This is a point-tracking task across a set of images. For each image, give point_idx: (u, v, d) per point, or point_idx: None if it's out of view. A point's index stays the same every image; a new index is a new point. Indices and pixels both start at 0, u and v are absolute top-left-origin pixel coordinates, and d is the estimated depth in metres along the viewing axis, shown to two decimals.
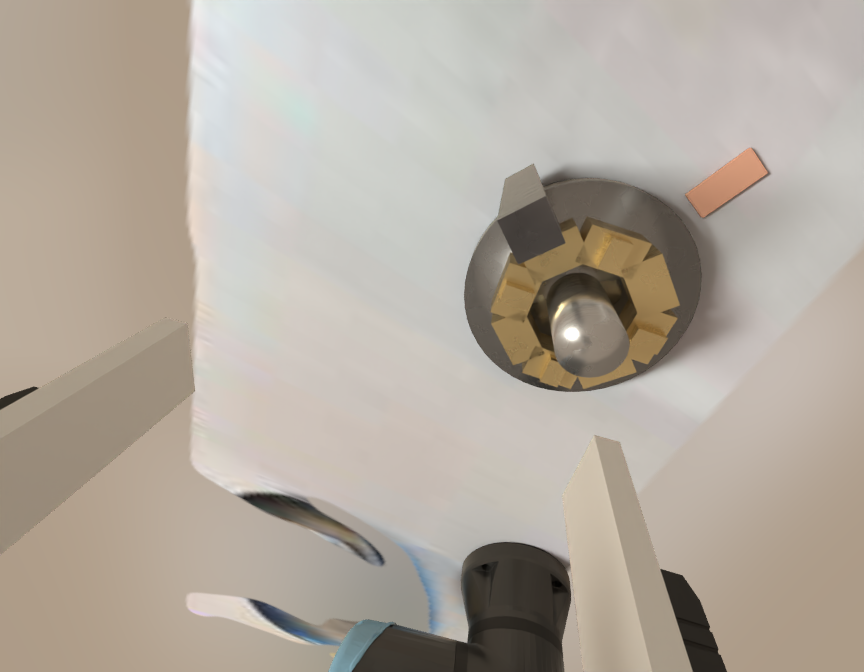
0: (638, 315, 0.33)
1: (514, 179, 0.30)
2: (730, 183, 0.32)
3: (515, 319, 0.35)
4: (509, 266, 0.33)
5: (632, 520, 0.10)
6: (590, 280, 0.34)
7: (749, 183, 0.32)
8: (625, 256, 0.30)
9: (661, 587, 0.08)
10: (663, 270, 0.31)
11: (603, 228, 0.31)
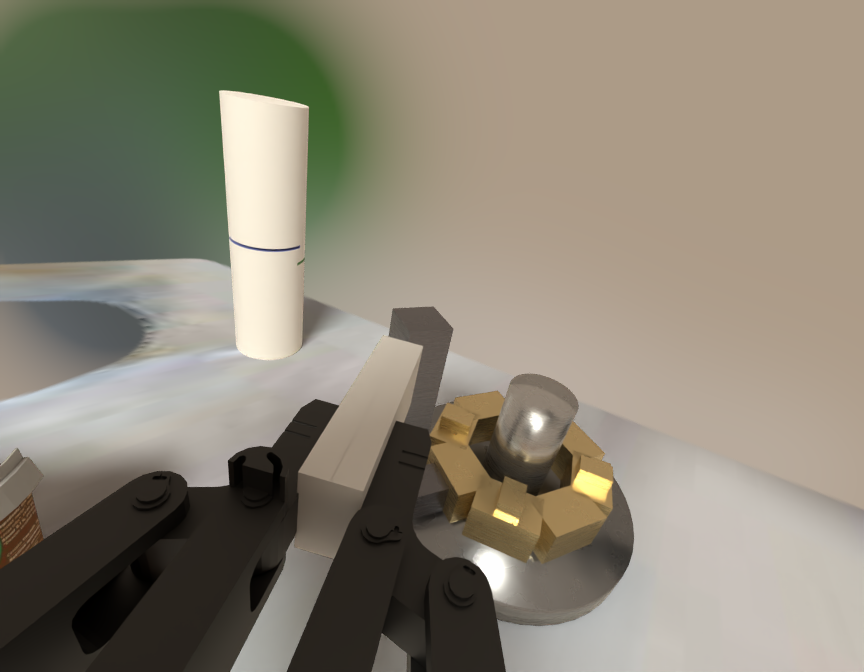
0: None
1: None
2: None
3: (543, 508, 0.28)
4: (476, 507, 0.27)
5: (394, 389, 0.12)
6: (485, 454, 0.34)
7: None
8: (458, 409, 0.34)
9: (387, 424, 0.11)
10: (469, 397, 0.37)
11: (433, 429, 0.33)
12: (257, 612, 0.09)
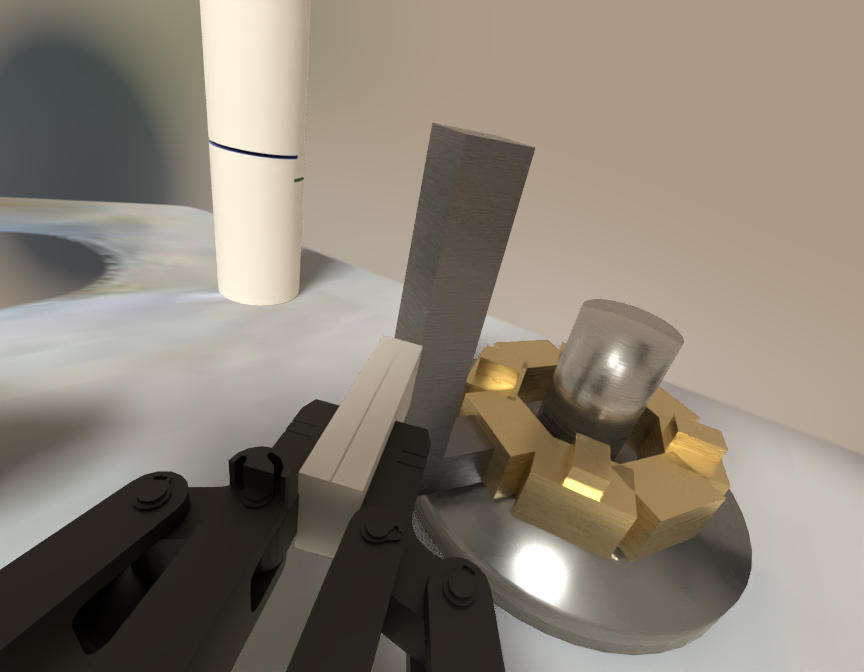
0: None
1: None
2: None
3: (633, 480, 0.19)
4: (537, 473, 0.18)
5: (393, 389, 0.12)
6: (537, 413, 0.25)
7: None
8: (501, 351, 0.25)
9: (386, 424, 0.11)
10: (512, 344, 0.28)
11: (469, 375, 0.24)
12: (258, 612, 0.09)
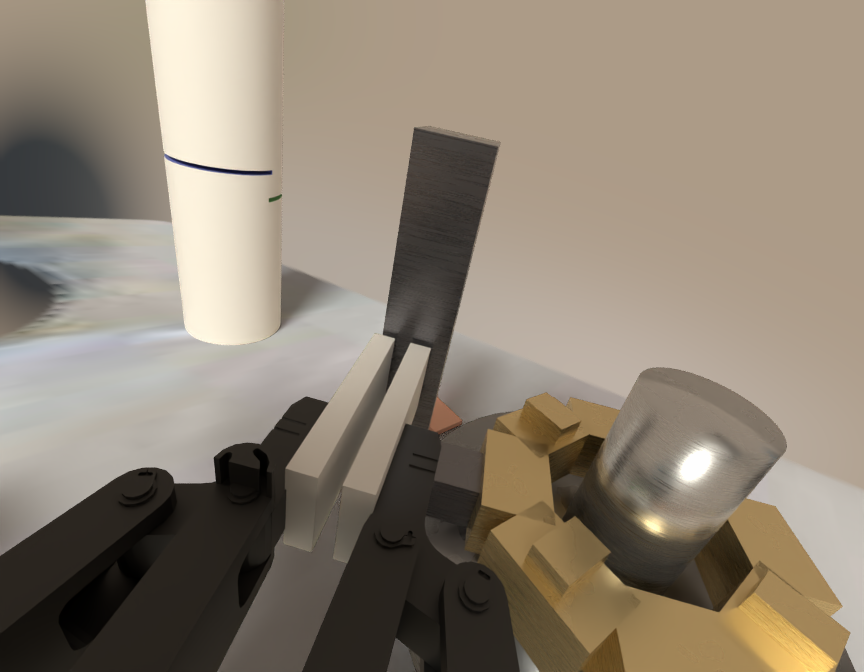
0: None
1: None
2: None
3: (628, 613, 0.14)
4: (497, 535, 0.15)
5: (403, 391, 0.12)
6: (570, 507, 0.19)
7: None
8: (558, 403, 0.22)
9: (397, 427, 0.11)
10: (593, 406, 0.24)
11: (509, 415, 0.22)
12: (246, 608, 0.09)
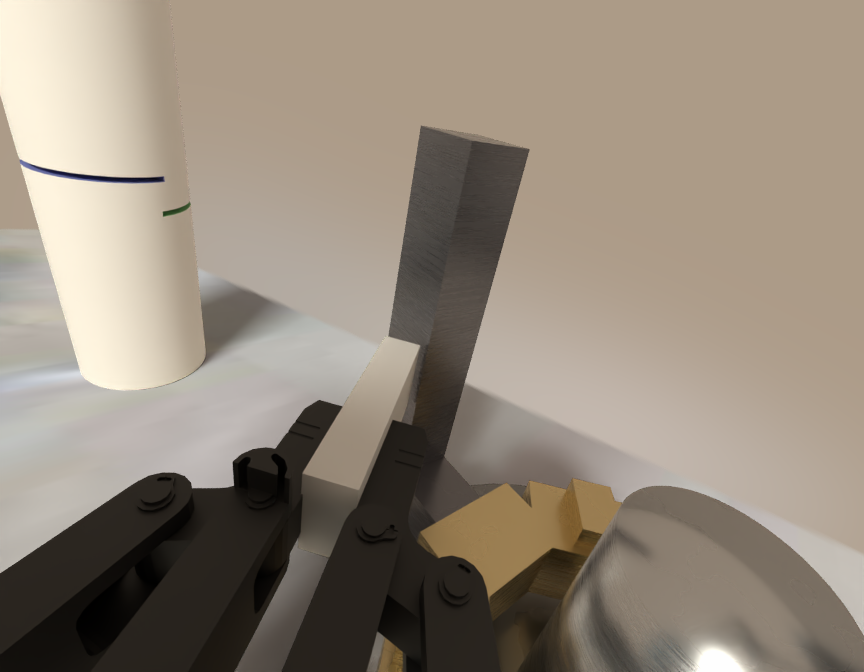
0: None
1: None
2: None
3: None
4: None
5: (390, 388, 0.12)
6: None
7: None
8: (612, 505, 0.16)
9: (383, 423, 0.11)
10: None
11: (548, 487, 0.18)
12: (261, 613, 0.09)
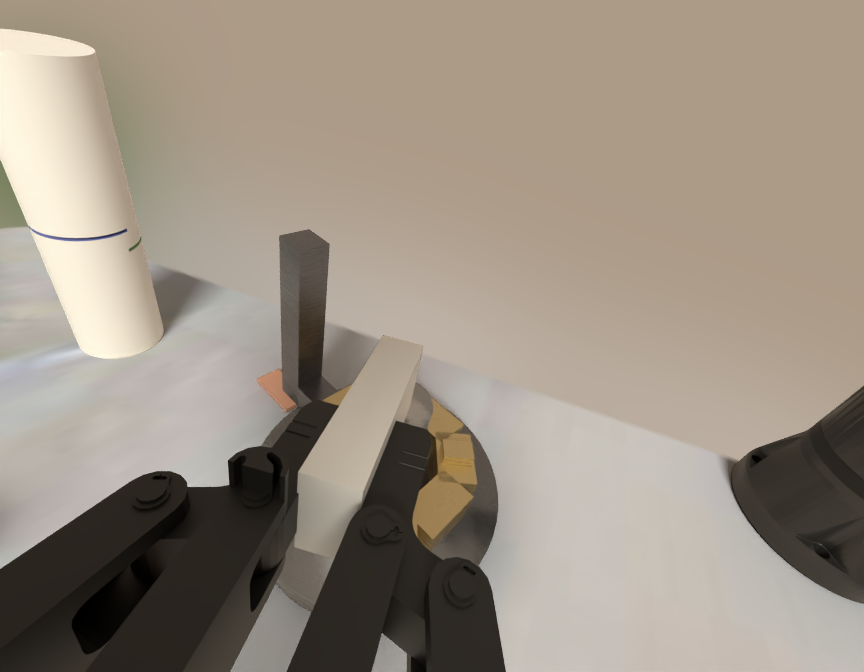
0: (437, 439, 0.34)
1: None
2: None
3: None
4: None
5: (394, 389, 0.12)
6: None
7: None
8: None
9: (387, 424, 0.11)
10: (433, 402, 0.37)
11: None
12: (257, 612, 0.09)
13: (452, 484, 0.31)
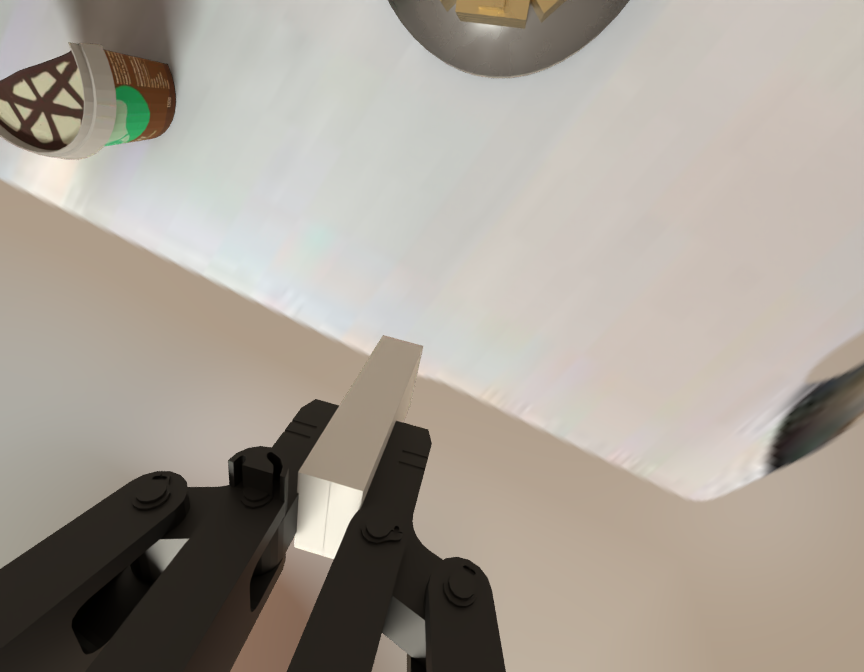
0: None
1: None
2: None
3: None
4: None
5: (393, 389, 0.12)
6: None
7: None
8: None
9: (387, 424, 0.11)
10: None
11: None
12: (257, 612, 0.09)
13: None
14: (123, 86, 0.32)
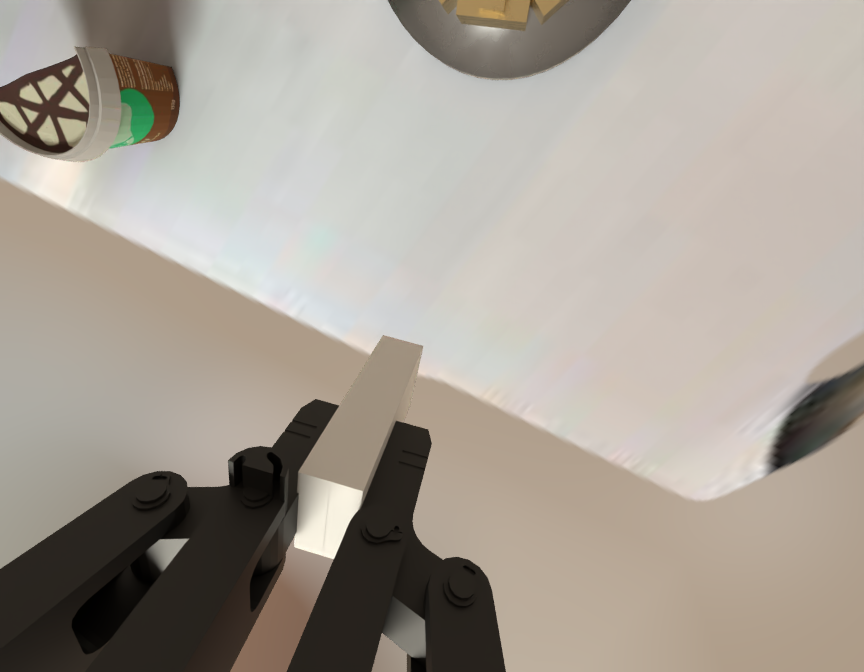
0: None
1: None
2: None
3: None
4: None
5: (394, 389, 0.12)
6: None
7: None
8: None
9: (387, 424, 0.11)
10: None
11: None
12: (257, 612, 0.09)
13: None
14: (128, 89, 0.32)
